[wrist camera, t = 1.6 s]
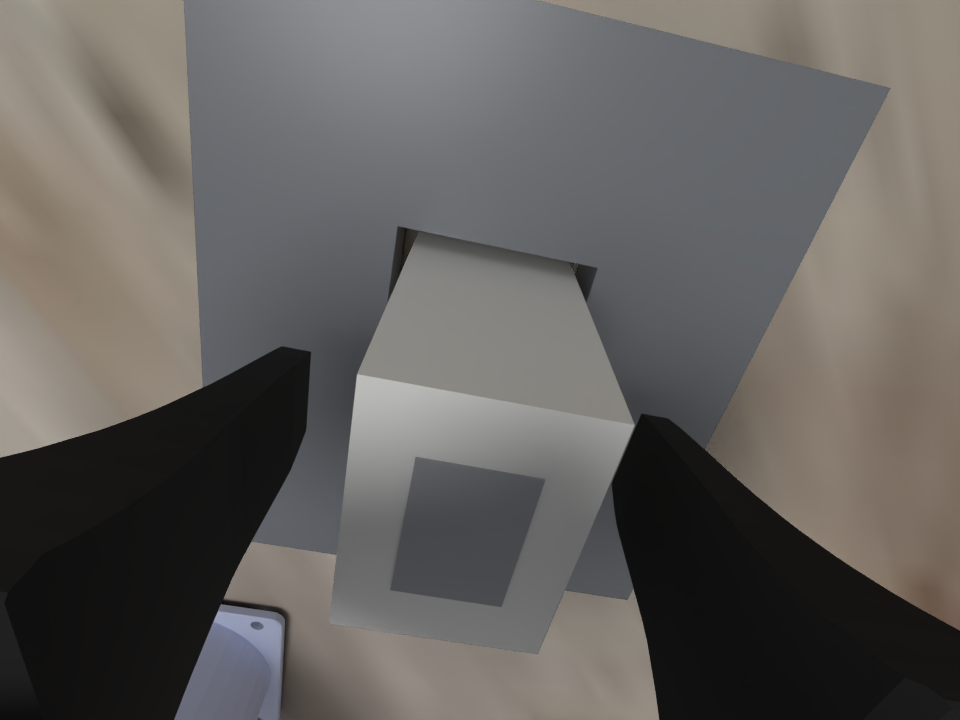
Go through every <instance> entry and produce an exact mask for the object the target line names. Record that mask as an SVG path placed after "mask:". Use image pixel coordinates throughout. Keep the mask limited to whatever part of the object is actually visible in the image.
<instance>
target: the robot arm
mask: <svg viewBox="0 0 960 720" xmlns="http://www.w3.org/2000/svg"><path fill="white" fill-rule="evenodd" d="M310 363H311V352H310V351H305V350H300V349H294V348H289V347H284V346H281V347H279V348H277V349H275V350H273V351H271V352H269V353H267V354H265V355H264V356H262V357H260V358H258V359H256V360H255V361H253V362H251V363H249V364H247V365H245V366H244V367H242V368H240V369H238V370H236V371H234V372H232V373H231V374H229V375H227V376H225V377H223V378H221V379H219V380H217V381H215V382H214V383H212V384H210V385H208V386H205V387H203V388H201V389H199V390H197V391H195V392H193V393H190V394H188V395H186V396H184V397H182V398H180V399H178V400H176V401H173V402H171V403H169V404H167V405H165V406H162V407H160V408H158V409H155V410H153V411H150V412H148V413H145V414H143V415H140V416H138V417H135V418H132V419H130V420H127V421H124V422H121V423H119V424H116V425H113V426H110V427H108V428H105V429H102V430H99V431H95V432H92V433H89V434H85V435H82V436H79V437H75V438H72V439H68V440H65V441H62V442H58V443H55V444H52V445H48V446H45V447H42V448H38V449H34V450H30V451H26V452H22V453H18V454H14V455H10V456H6V457H2V458H0V720H279V717H280V712H281V692H282V672H283V652H284V632H285V620H284V618H283V616H282V615H280V614H279V613H276V612H272V611H265V610H258V609H251V608H244V607H237V606H230V605H223V604H221V603H222V601H223V598H224V596H225V594H226V591H227V589H228V587H229V584H230V582H231V580H232V577H233V575H234V573H235V571H236V569H237V567H238V565H239V563H240V561H241V559H242V557H243V556H244V554H245V552H246V550H247V548H248V547H249V545H250V543H251V541H252V540H253V538H254V536H255V534H256V532H257V531H258V529H259V527H260V525H261V523H262V522H263V520H264V518H265V516H266V514H267V513H268V511H269V509H270V507H271V505H272V504H273V502H274V500H275V498H276V496H277V495H278V493H279V491H280V489H281V487H282V485H283V484H284V482H285V480H286V478H287V476H288V474H289V472H290V471H291V468H292V466H293V463H294V461H295V458H296V456H297V453H298V451H299V448H300V446H301V443H302V440H303V438H304V435H305V432H306V428H307V411H308V395H309V379H310ZM611 484H612V493H613V503H614V511H615V518H616V525H617V529H618V533H619V537H620V540H621V544H622V548H623V552H624V555H625V559H626V563H627V566H628V570H629V574H630V577H631V581H632V584H633V588H634V592H635V595H636V599H637V602H638V606H639V610H640V613H641V617H642V621H643V625H644V629H645V634H646V638H647V643H648V649H649V655H650V661H651V667H652V673H653V679H654V685H655V691H656V698H657V705H658V713H659V720H960V631H959V630H957V629H956V628H954V627H952V626H950V625H948V624H946V623H945V622H943V621H941V620H939V619H937V618H936V617H934V616H932V615H930V614H928V613H926V612H925V611H923V610H921V609H919V608H918V607H916V606H914V605H912V604H911V603H909V602H907V601H906V600H904V599H902V598H900V597H899V596H897V595H895V594H894V593H892V592H890V591H889V590H887V589H885V588H884V587H882V586H881V585H879V584H877V583H876V582H874V581H873V580H871V579H870V578H868V577H866V576H865V575H863V574H862V573H860V572H858V571H857V570H855V569H854V568H852V567H851V566H849V565H848V564H846V563H845V562H843V561H842V560H840V559H839V558H837V557H836V556H834V555H833V554H831V553H830V552H828V551H827V550H826V549H824V548H823V547H822V546H820V545H819V544H817V543H816V542H815V541H813V540H812V539H810V538H809V537H808V536H806V535H805V534H804V533H802V532H801V531H799V530H798V529H797V528H795V527H794V526H793V525H792V524H790V523H789V522H788V521H786V520H785V519H784V518H783V517H781V516H780V515H779V514H778V513H776V512H775V511H774V510H773V509H772V508H770V507H769V506H768V505H767V504H765V503H764V502H763V501H762V500H761V499H759V498H758V497H757V496H756V495H755V494H753V493H752V492H751V491H750V490H749V489H748V488H747V487H745V486H744V485H743V484H742V483H741V482H740V481H739V480H737V479H736V478H735V477H734V476H733V475H732V474H731V473H730V472H729V471H727V470H726V469H725V468H724V467H723V466H722V465H721V464H720V463H719V462H718V461H716V460H715V459H714V458H713V457H712V456H711V455H710V454H709V453H708V452H707V451H706V450H704V449H703V448H702V447H701V446H700V445H699V444H698V443H697V442H696V441H695V440H694V439H692V438H691V437H690V436H689V435H688V434H687V433H686V432H684V431H683V430H682V429H681V428H680V427H679V426H677V425H676V424H675V423H674V422H672V421H671V420H670V419H668V418H663V417H658V416H653V415H647V414H642V413H641V416H640V418H639V420H638V423H637V425H636V427H635V430H634V432H633V434H632V437H631V439H630V441H629V444H628V446H627V448H626V451H625V453H624V455H623V458H622V460H621V462H620V465H619V467H618V469H617V472H616V474H615V476H614V479H613V481H612V483H611Z"/></svg>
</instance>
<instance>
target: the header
mask: <svg viewBox="0 0 960 720" xmlns="http://www.w3.org/2000/svg"><path fill="white" fill-rule="evenodd" d="M184 13H185V33H186V53H187V73H188V94H189V114H190V134H191V155H192V175H193V195H194V216H195V236H196V256H197V276H198V297H199V317H200V337H201V358H202V378H203V387H205V386H208V385H210V384H212V383H214V382H215V381H217V380H219V379H221V378H223V377H225V376H227V375H229V374H231V373H232V372H234V371H236V370H238V369H240V368H242V367H244V366H245V365H247V364H249V363H251V362H253V361H255V360H256V359H258V358H260V357H262V356H264V355H265V354H267V353H269V352H271V351H273V350H275V349H277V348H279V347H281V346H284V347H289V348H294V349H300V350H305V351H310V352H311V363H310V379H309V395H308V411H307V428H306V432H305V435H304V438H303V440H302V443H301V446H300V448H299V451H298V453H297V456H296V458H295V461H294V463H293V466H292V468H291V471H290V472H289V474H288V476H287V478H286V480H285V482H284V484H283V485H282V487H281V489H280V491H279V493H278V495H277V496H276V498H275V500H274V502H273V504H272V505H271V507H270V509H269V511H268V513H267V514H266V516H265V518H264V520H263V522H262V523H261V525H260V527H259V529H258V531H257V532H256V534H255V536H254V538H253V540H252V542H258V543H264V544H271V545H277V546H284V547H290V548H297V549H303V550H309V551H316V552H322V553H329V554H335V555H337V548H338V540H339V531H340V522H341V513H342V504H343V495H344V486H345V477H346V468H347V459H348V450H349V441H350V433H351V424H352V415H353V406H354V397H355V388H356V379H357V373H358V371H359V368H360V366H361V364H362V361H363V359H364V357H365V355H366V352H367V350H368V348H369V345H370V343H371V341H372V338H373V336H374V334H375V331H376V329H377V327H378V324H379V322H380V320H381V317H382V315H383V313H384V310H385V308H386V306H387V304H388V301H389V299H390V297H391V294H392V292H393V290H394V287H395V285H396V283H397V280H398V278H399V274H400V266H401V259H402V252H403V245H404V238H405V231H406V228H409V229H413V230H418V231H423V232H428V233H433V234H438V235H442V236H447V237H452V238H457V239H462V240H466V241H471V242H476V243H481V244H486V245H490V246H495V247H500V248H505V249H510V250H514V251H519V252H524V253H529V254H534V255H539V256H543V257H548V258H553V259H558V260H563V261H567V262H572V263H577V264H579V265H578V268H577V271H576V274H575V277H576V279H577V282H578V284H579V287H580V289H581V292H582V294H583V297H584V299H585V302H586V304H587V307H588V309H589V312H590V314H591V317H592V319H593V322H594V324H595V327H596V329H597V332H598V334H599V337H600V339H601V342H602V344H603V347H604V349H605V352H606V354H607V357H608V359H609V362H610V364H611V367H612V369H613V372H614V374H615V377H616V379H617V382H618V384H619V387H620V389H621V392H622V394H623V397H624V399H625V402H626V404H627V407H628V409H629V412H630V414H631V417H632V419H633V422H634V424H635V426H634V428H633V431H632V433H631V435H630V438H629V440H628V442H627V445H626V447H625V450H624V452H623V454H622V457H621V459H620V461H619V464H618V466H617V468H616V471H615V473H614V476H615V474H616V472H617V469H618V467H619V465H620V462H621V460H622V458H623V455H624V453H625V451H626V448H627V446H628V444H629V441H630V439H631V437H632V434H633V432H634V430H635V427H636V425H637V423H638V420H639V418H640V416H641V413H642V414H647V415H653V416H658V417H663V418H668V419H670V420H671V421H672V422H674V423H675V424H676V425H677V426H679V427H680V428H681V429H682V430H683V431H684V432H686V433H687V434H688V435H689V436H690V437H691V438H692V439H694V440H695V441H696V442H697V443H698V444H699V445H700V446H701V447H702V448H703V449H704V450H705V448H706V446H707V444H708V442H709V440H710V438H711V436H712V434H713V432H714V430H715V428H716V427H717V425H718V423H719V421H720V419H721V417H722V415H723V413H724V411H725V409H726V407H727V405H728V403H729V401H730V399H731V397H732V395H733V393H734V392H735V390H736V388H737V386H738V384H739V382H740V380H741V378H742V376H743V374H744V372H745V370H746V368H747V366H748V364H749V362H750V360H751V358H752V357H753V355H754V353H755V351H756V349H757V347H758V345H759V343H760V341H761V339H762V337H763V335H764V333H765V331H766V329H767V327H768V325H769V323H770V322H771V320H772V318H773V316H774V314H775V312H776V310H777V308H778V306H779V304H780V302H781V300H782V298H783V296H784V294H785V292H786V290H787V289H788V287H789V285H790V283H791V281H792V279H793V277H794V275H795V273H796V271H797V269H798V267H799V265H800V263H801V261H802V259H803V257H804V255H805V254H806V252H807V250H808V248H809V246H810V244H811V242H812V240H813V238H814V236H815V234H816V232H817V230H818V228H819V226H820V224H821V222H822V220H823V219H824V217H825V215H826V213H827V211H828V209H829V207H830V205H831V203H832V201H833V199H834V197H835V195H836V193H837V191H838V189H839V187H840V185H841V184H842V182H843V180H844V178H845V176H846V174H847V172H848V170H849V168H850V166H851V164H852V162H853V160H854V158H855V156H856V154H857V152H858V150H859V149H860V147H861V145H862V143H863V141H864V139H865V137H866V135H867V133H868V131H869V129H870V127H871V125H872V123H873V121H874V119H875V117H876V115H877V114H878V112H879V110H880V108H881V106H882V104H883V102H884V100H885V98H886V96H887V94H888V92H889V90H890V88H888V87H884V86H880V85H876V84H872V83H868V82H864V81H860V80H856V79H852V78H848V77H844V76H840V75H836V74H832V73H828V72H824V71H820V70H816V69H812V68H808V67H804V66H800V65H796V64H792V63H787V62H783V61H779V60H775V59H771V58H767V57H763V56H759V55H755V54H751V53H747V52H743V51H739V50H735V49H731V48H727V47H723V46H719V45H715V44H711V43H707V42H703V41H699V40H695V39H691V38H687V37H683V36H679V35H675V34H671V33H667V32H663V31H659V30H655V29H651V28H647V27H643V26H639V25H634V24H630V23H626V22H622V21H618V20H614V19H610V18H606V17H602V16H598V15H594V14H590V13H586V12H582V11H578V10H574V9H570V8H566V7H562V6H558V5H554V4H550V3H546V2H542V1H538V0H184ZM614 476H613V478H612V480H611V483H612V481H613V479H614ZM611 483H610V485H609V487H608V490H607V492H606V494H605V497H604V499H603V501H602V504H601V506H600V509H599V511H598V513H597V516H596V518H595V520H594V523H593V525H592V527H591V530H590V532H589V535H588V537H587V539H586V542H585V544H584V546H583V549H582V551H581V553H580V556H579V558H578V560H577V563H576V565H575V568H574V570H573V572H572V575H571V577H570V579H569V582H568V584H567V586H566V589H565V590H567V591H573V592H580V593H586V594H592V595H599V596H605V597H612V598H618V599H625V600H628V598H629V596H630V594H631V592H632V590H633V584H632V581H631V577H630V574H629V570H628V566H627V563H626V559H625V555H624V552H623V548H622V544H621V540H620V537H619V533H618V529H617V525H616V518H615V511H614V503H613V493H612V484H611Z"/></svg>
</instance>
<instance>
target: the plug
mask: <svg viewBox="0 0 960 720" xmlns="http://www.w3.org/2000/svg"><path fill="white" fill-rule="evenodd" d="M634 426H635V424H634V422H633V419H632V417H631V414H630V412H629V409H628V407H627V404H626V402H625V399H624V397H623V394H622V392H621V389H620V387H619V384H618V382H617V379H616V377H615V374H614V372H613V369H612V367H611V364H610V362H609V359H608V357H607V354H606V352H605V349H604V347H603V344H602V342H601V339H600V337H599V334H598V332H597V329H596V327H595V324H594V322H593V319H592V317H591V314H590V312H589V309H588V307H587V304H586V302H585V299H584V297H583V294H582V292H581V289H580V287H579V284H578V282H577V279H576V277H575V274H574V272H573V269H572V267H571V264H570V262H567V261H563V260H558V259H553V258H548V257H543V256H539V255H534V254H529V253H524V252H519V251H514V250H510V249H505V248H500V247H495V246H490V245H486V244H481V243H476V242H471V241H466V240H462V239H457V238H452V237H447V236H442V235H438V234H433V233H428V232H423V231H419V232H418V234H417V236H416V239H415V241H414V243H413V246H412V248H411V250H410V253H409V255H408V257H407V260H406V262H405V264H404V266H403V269H402V271H401V273H400V276H399V278H398V280H397V283H396V285H395V287H394V290H393V292H392V294H391V297H390V299H389V301H388V304H387V306H386V308H385V310H384V313H383V315H382V317H381V320H380V322H379V324H378V327H377V329H376V331H375V334H374V336H373V338H372V341H371V343H370V345H369V348H368V350H367V352H366V355H365V357H364V359H363V361H362V364H361V366H360V368H359V371H358V373H357V379H356V388H355V397H354V406H353V415H352V424H351V433H350V441H349V450H348V459H347V468H346V477H345V486H344V495H343V504H342V513H341V522H340V531H339V540H338V548H337V557H336V566H335V575H334V584H333V593H332V602H331V611H330V620H329V624H333V625H340V626H347V627H354V628H361V629H368V630H375V631H381V632H388V633H395V634H402V635H409V636H416V637H423V638H430V639H436V640H443V641H450V642H457V643H464V644H471V645H478V646H485V647H491V648H498V649H505V650H512V651H519V652H526V653H533V654H538V653H539V650H540V648H541V645H542V643H543V641H544V638H545V636H546V634H547V631H548V629H549V627H550V624H551V622H552V619H553V617H554V615H555V612H556V610H557V608H558V605H559V603H560V601H561V598H562V596H563V594H564V591H565V589H566V586H567V584H568V582H569V579H570V577H571V575H572V572H573V570H574V568H575V565H576V563H577V560H578V558H579V556H580V553H581V551H582V549H583V546H584V544H585V542H586V539H587V537H588V535H589V532H590V530H591V527H592V525H593V523H594V520H595V518H596V516H597V513H598V511H599V509H600V506H601V504H602V501H603V499H604V497H605V494H606V492H607V490H608V487H609V485H610V483H611V480H612V478H613V476H614V473H615V471H616V468H617V466H618V464H619V461H620V459H621V457H622V454H623V452H624V450H625V447H626V445H627V442H628V440H629V438H630V435H631V433H632V431H633V428H634Z"/></svg>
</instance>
